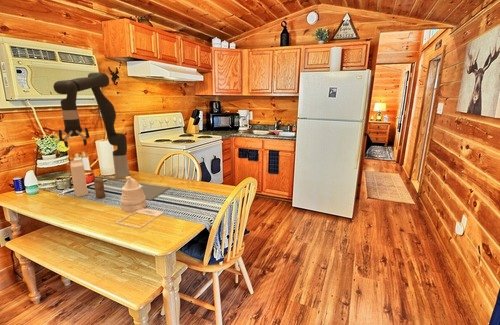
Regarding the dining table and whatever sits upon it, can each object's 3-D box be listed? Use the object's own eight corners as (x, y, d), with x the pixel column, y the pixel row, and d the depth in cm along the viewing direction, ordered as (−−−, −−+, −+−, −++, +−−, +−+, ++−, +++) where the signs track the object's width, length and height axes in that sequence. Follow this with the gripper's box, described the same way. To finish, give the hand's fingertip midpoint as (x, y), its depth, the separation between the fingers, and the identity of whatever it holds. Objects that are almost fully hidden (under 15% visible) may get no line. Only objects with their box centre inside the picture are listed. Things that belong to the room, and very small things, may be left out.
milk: (88, 194, 160) (82, 160, 154) (76, 197, 156) (70, 161, 150) (85, 192, 164) (80, 158, 158) (74, 194, 160) (69, 159, 154)
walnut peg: (100, 195, 158) (98, 178, 156) (107, 196, 157) (104, 179, 155) (94, 198, 154) (91, 181, 151) (101, 199, 153) (98, 181, 150)
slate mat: (146, 185, 176) (146, 184, 176) (169, 188, 173) (169, 187, 172) (124, 197, 156) (124, 196, 155) (150, 200, 152) (150, 199, 152)
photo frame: (164, 211, 136) (139, 227, 120) (164, 213, 136) (140, 229, 120) (141, 207, 141) (115, 222, 124) (141, 209, 141) (115, 224, 124)
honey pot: (137, 212, 136) (133, 180, 131) (115, 210, 138) (111, 178, 134) (151, 203, 148) (148, 173, 144) (131, 201, 151) (127, 171, 146)
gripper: (84, 116, 151) (89, 144, 155) (54, 118, 142) (60, 147, 146) (87, 118, 146) (91, 146, 150) (56, 119, 136) (62, 149, 141)
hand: (76, 146), depth 148 cm, fingers open, 8 cm apart
